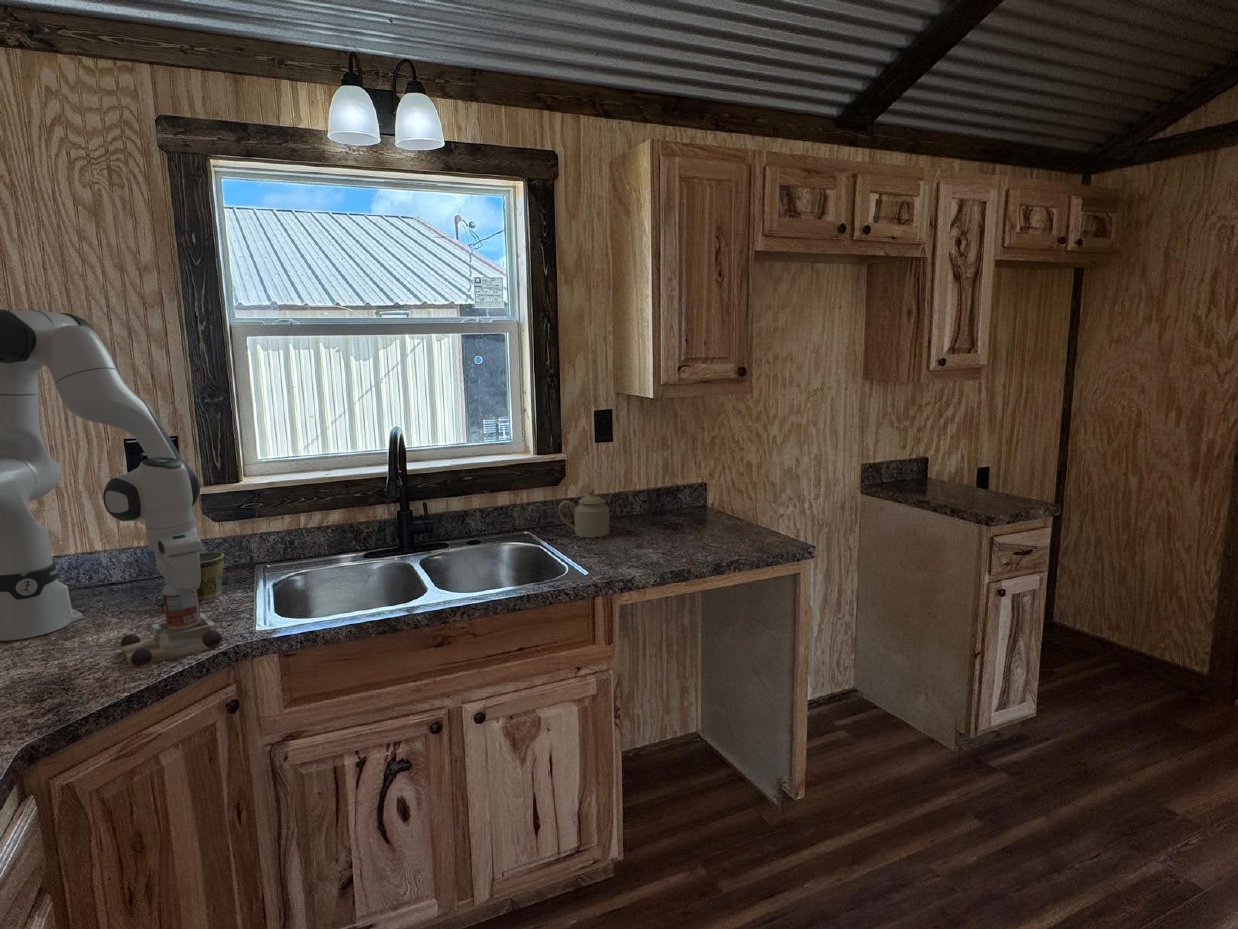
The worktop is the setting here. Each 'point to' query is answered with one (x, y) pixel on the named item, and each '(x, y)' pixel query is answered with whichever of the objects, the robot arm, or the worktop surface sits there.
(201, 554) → the ceramic cup
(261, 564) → the worktop surface
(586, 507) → the sugar bowl
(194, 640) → the beige toy truck
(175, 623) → the pill bottle
